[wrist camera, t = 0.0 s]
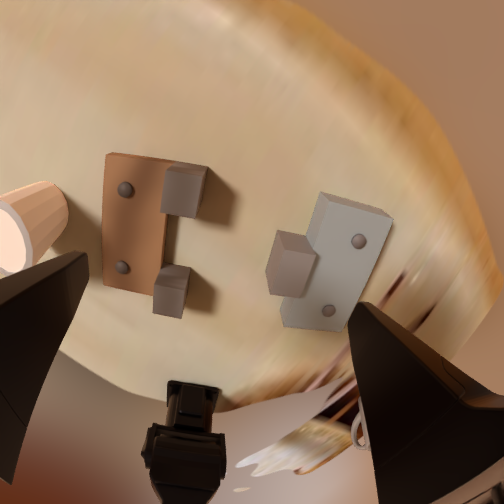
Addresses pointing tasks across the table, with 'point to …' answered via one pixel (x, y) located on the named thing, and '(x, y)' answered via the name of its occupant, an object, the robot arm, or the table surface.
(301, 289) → the leaf
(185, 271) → the leaf
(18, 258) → the pale pink tumbler
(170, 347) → the table surface
